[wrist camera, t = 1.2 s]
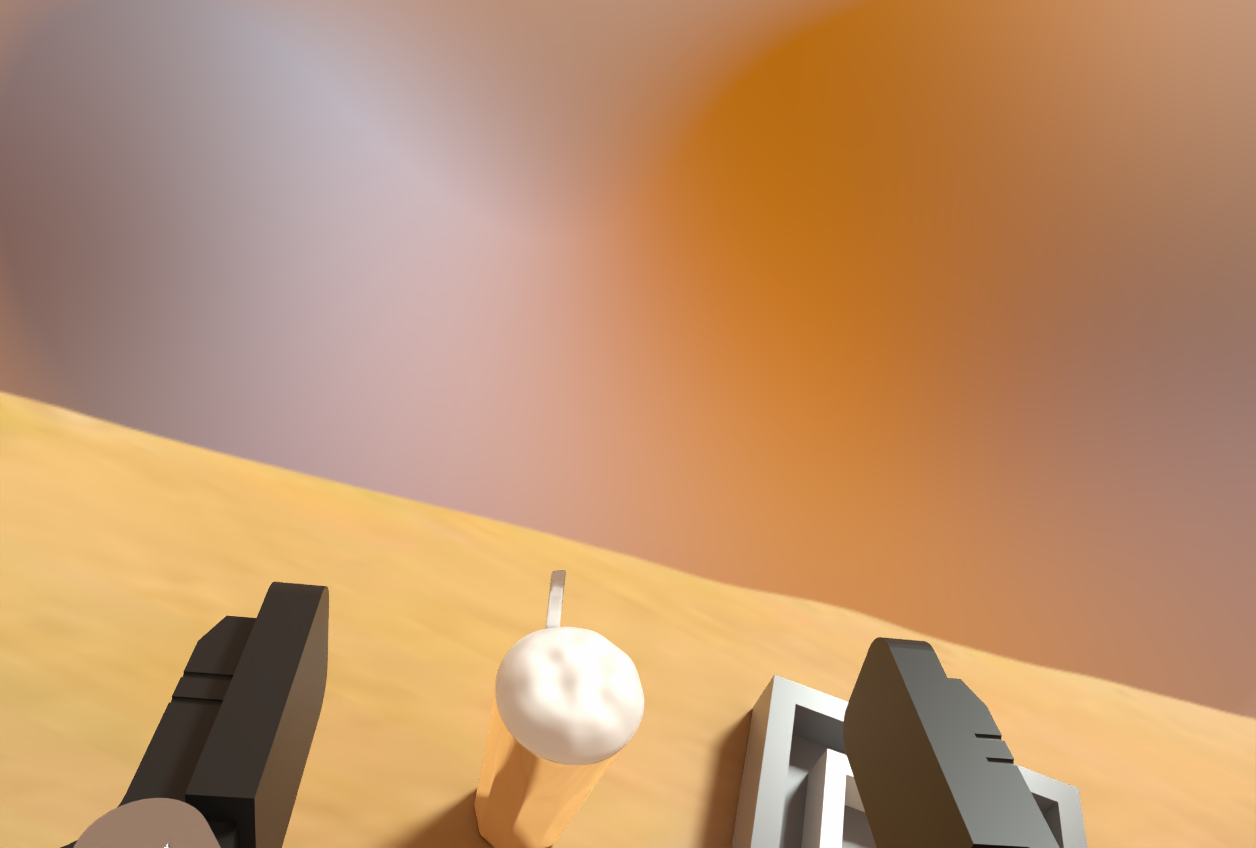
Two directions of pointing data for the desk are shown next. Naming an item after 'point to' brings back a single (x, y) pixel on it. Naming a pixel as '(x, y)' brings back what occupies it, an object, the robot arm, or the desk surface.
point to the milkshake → (553, 729)
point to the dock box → (835, 779)
